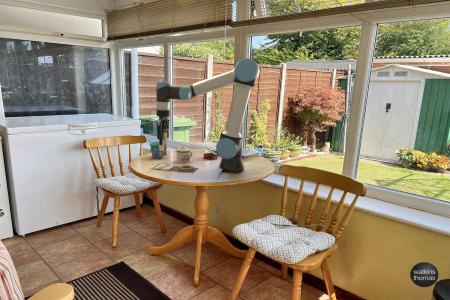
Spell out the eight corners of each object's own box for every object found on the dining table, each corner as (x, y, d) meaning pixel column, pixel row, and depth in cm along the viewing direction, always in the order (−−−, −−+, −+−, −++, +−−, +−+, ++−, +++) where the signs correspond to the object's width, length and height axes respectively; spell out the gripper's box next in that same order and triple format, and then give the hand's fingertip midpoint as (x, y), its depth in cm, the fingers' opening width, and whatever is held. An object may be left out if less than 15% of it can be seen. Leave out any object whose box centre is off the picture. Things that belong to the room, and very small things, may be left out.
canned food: (207, 163, 219) (211, 150, 222) (219, 163, 213) (222, 150, 216) (198, 158, 211) (201, 144, 213) (209, 158, 205) (213, 145, 207)
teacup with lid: (182, 166, 191) (182, 147, 188) (173, 163, 196) (173, 145, 194) (196, 162, 199) (196, 145, 197) (187, 160, 205) (187, 143, 203)
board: (199, 170, 182) (199, 165, 181) (192, 175, 170) (193, 170, 169) (158, 166, 187) (158, 162, 186) (149, 171, 175) (149, 166, 175)
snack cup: (145, 156, 214) (145, 142, 212) (159, 154, 220) (159, 140, 218) (156, 160, 202) (155, 145, 200) (170, 158, 209) (170, 144, 206)
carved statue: (170, 154, 179) (170, 128, 176) (167, 156, 176) (167, 129, 172) (159, 153, 181) (158, 128, 178) (156, 155, 177) (155, 128, 174)
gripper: (163, 108, 182) (163, 146, 186) (150, 109, 165) (150, 152, 170) (174, 108, 180) (174, 147, 185) (163, 110, 164) (163, 153, 169)
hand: (163, 149), depth 178 cm, fingers closed on carved statue, 4 cm apart
